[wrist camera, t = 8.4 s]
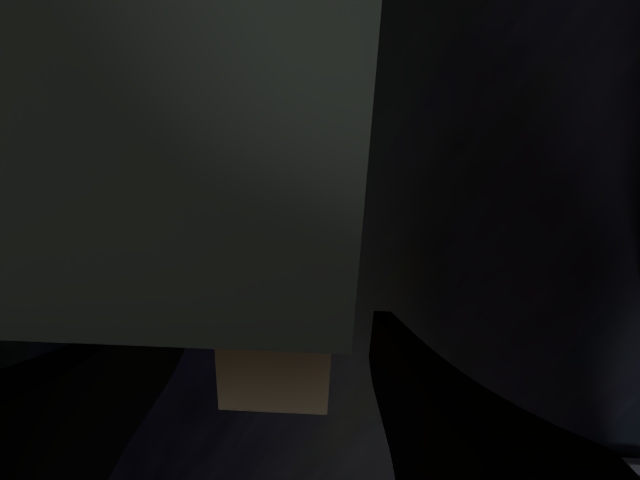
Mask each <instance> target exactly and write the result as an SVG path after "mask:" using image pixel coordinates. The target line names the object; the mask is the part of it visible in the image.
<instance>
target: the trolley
mask: <svg viewBox="0 0 640 480" xmlns="http://www.w3.org/2000/svg"><path fill="white" fill-rule="evenodd" d="M381 7H382V0H0V340H10V341H34V342H58V343H82V344H106V345H130V346H154V347H179V348H203V349H227V350H251V351H275V352H299V353H323V354H347V355H351V353H352V341H353V330H354V318H355V307H356V295H357V284H358V272H359V261H360V249H361V238H362V226H363V215H364V203H365V192H366V180H367V168H368V157H369V145H370V134H371V122H372V111H373V99H374V88H375V76H376V65H377V53H378V42H379V30H380V19H381Z"/></svg>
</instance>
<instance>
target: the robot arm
mask: <svg viewBox="0 0 640 480" xmlns="http://www.w3.org/2000/svg"><path fill="white" fill-rule="evenodd" d="M183 352H184V348H179V347H154V346H130V345H106V344H82V343H71V344H68V345H66V346H63V347H61V348H58V349H56V350H53V351H51V352H48V353H45V354H43V355H40V356H37V357H35V358H32V359H29V360H26V361H24V362H21V363H18V364H15V365H12V366H8V367H5V368H2V369H0V480H108V479H109V477H110V475H111V474H112V472H113V470H114V468H115V466H116V464H117V462H118V460H119V459H120V457H121V455H122V453H123V451H124V449H125V448H126V446H127V445H128V443H129V441H130V440H131V438H132V436H133V435H134V433H135V432H136V430H137V429H138V427H139V426H140V424H141V423H142V421H143V420H144V418H145V416H146V415H147V413H148V412H149V410H150V409H151V407H152V406H153V404H154V403H155V401H156V400H157V398H158V397H159V395H160V394H161V392H162V391H163V389H164V387H165V386H166V384H167V383H168V381H169V380H170V378H171V376H172V375H173V373H174V371H175V369H176V367H177V365H178V363H179V361H180V358H181V356H182V354H183ZM369 362H370V370H371V377H372V384H373V388H374V391H375V395H376V399H377V403H378V407H379V411H380V414H381V418H382V422H383V426H384V430H385V433H386V437H387V441H388V445H389V449H390V453H391V458H392V463H393V469H394V474H395V480H640V458H623V457H620V456H619V454H618V453H617V452H615V451H614V450H612V449H609V448H607V447H605V446H602V445H600V444H598V443H595V442H593V441H591V440H588V439H586V438H584V437H581V436H579V435H577V434H574V433H572V432H570V431H567V430H565V429H563V428H561V427H558V426H556V425H554V424H552V423H550V422H548V421H546V420H544V419H542V418H540V417H538V416H536V415H534V414H532V413H530V412H528V411H526V410H524V409H522V408H520V407H518V406H516V405H515V404H513V403H511V402H509V401H507V400H506V399H504V398H502V397H500V396H499V395H497V394H495V393H494V392H492V391H490V390H488V389H487V388H485V387H484V386H482V385H480V384H479V383H477V382H476V381H474V380H473V379H471V378H470V377H468V376H467V375H465V374H464V373H462V372H461V371H459V370H458V369H457V368H455V367H454V366H452V365H451V364H450V363H448V362H447V361H446V360H445V359H443V358H442V357H441V356H440V355H438V354H437V353H436V352H435V351H433V350H432V349H431V348H430V347H429V346H427V345H426V344H425V343H424V342H423V341H422V340H421V339H419V338H418V337H417V336H416V335H415V334H414V333H413V332H412V331H411V330H410V329H409V328H407V327H406V326H405V325H404V324H403V323H402V322H401V321H400V320H399V319H398V318H397V317H396V316H395V315H394V314H393V313H391V312H386V311H374V316H373V325H372V334H371V343H370V352H369Z"/></svg>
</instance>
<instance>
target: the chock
mask: <svg viewBox="0 0 640 480" xmlns="http://www.w3.org/2000/svg"><path fill="white" fill-rule="evenodd" d="M215 362H216V377H217V391H218V406H219V410H239V411H260V412H280V413H301V414H322V415H327V407H328V393H329V378H330V364H331V354H323V353H299V352H275V351H251V350H227V349H215Z"/></svg>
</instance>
